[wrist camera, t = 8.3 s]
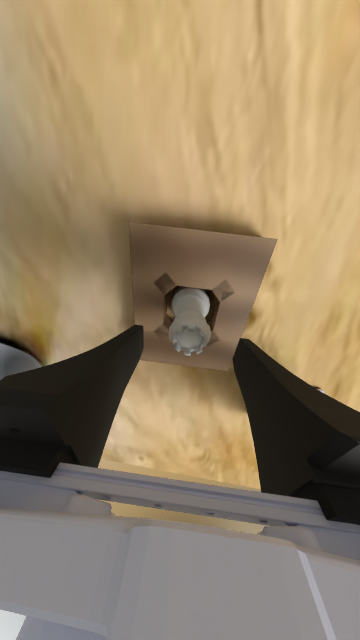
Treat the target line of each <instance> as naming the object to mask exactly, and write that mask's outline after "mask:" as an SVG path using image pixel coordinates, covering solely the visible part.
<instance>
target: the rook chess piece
mask: <svg viewBox="0 0 360 640" xmlns="http://www.w3.org/2000/svg"><path fill="white" fill-rule="evenodd" d="M171 308H172V311H173V313H174V315H175V316H176V317H175V319H174V321H173V322H172V324H171V326H170V327H169V338H170V340H171V342H172V343H173V344H174V349H175V350H176V351H177V352H179V351H180V350H183V351H184V355H188V356H191V352H192V351H195V352H196V354H199V353H201V352H202V348H203V347H206V346H207V343H208V342H209V341H210V337H211V330H210V326H209V325H208V324H207V323H206V319H205V317H206V315H207V314H208V312H209V308H210V299H209V294H208V293H207V292H206V290H205V289H201V288H192V287H184V286H181V287H179V288H178V289H177V290H176V291H175V292H174V294H173V296H172V302H171Z"/></svg>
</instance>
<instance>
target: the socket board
mask: <svg viewBox="0 0 360 640" xmlns="http://www.w3.org/2000/svg"><path fill="white" fill-rule="evenodd" d="M129 232H130V250H131V268H132V287H133V305H134V323H135V325H142V326H143V328H144V348H143V351H142V354H141V357H140V360H145V361H153V362H160V363H168V364H175V365H183V366H191V367H198V368H206V369H213V370H221V371H229V369H230V366H231V363H232V361H233V360H232V359H233V356H234V353H235V350H236V348H237V345H238V342H239V339H240V338H241V336H242V334H243V331H244V328H245V326H246V323H247V320H248V317H249V315H250V312H251V309H252V307H253V304H254V301H255V299H256V296H257V293H258V291H259V288H260V285H261V283H262V280H263V277H264V274H265V272H266V269H267V266H268V264H269V261H270V258H271V256H272V253H273V250H274V248H275V245H276V242H277V240H278V239H273V238H264V237H255V236H247V235H238V234H229V233H221V232H212V231H203V230H195V229H186V228H177V227H169V226H160V225H151V224H143V223H134V222H129ZM176 286H184V287H192V288H201V289H209V290H212V291H213V293H214V294H215V296H216V299H215V304H214V308H213V312H212V317H211V320H210V321H208V322H206V323H207V324H208V325H209V326H210V330H211V337H210V341H209V342H208V343H207V346H206V347H203V348H202V352H201V353H199V354H196V352H195V351H192V352H191V356H188V355H184V351H183V350H180V351H179V352H177V351H176V350H175V349H174V344H173V343H172V342H171V340H170V338H169V327H170V326H171V324H172V322H173V321H172V320H171V319H170V318H169V316H168V315H167V314H166V313H167V297H168V292H169V291H171V290H172V289H173V288H174V287H176Z"/></svg>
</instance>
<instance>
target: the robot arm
mask: <svg viewBox="0 0 360 640" xmlns="http://www.w3.org/2000/svg"><path fill="white" fill-rule="evenodd" d="M143 348H144V328H143V326H142V325H134V326H132V327H131V328H129V329H127V330H126V331H124V332H123V333H121V334H119V335H118V336H116V337H114V338H113V339H111V340H109V341H107V342H105V343H104V344H102V345H100V346H98V347H96V348H93V349H91V350H89V351H87V352H84V353H82V354H79V355H77V356H74V357H71V358H69V359H66V360H63V361H60V362H57V363H54V364H51V365H47V366H44V367H41V368H37V369H34V370H29V371H25V372H22V373H17V374H14V375H9V376H6V377H4V378H3V379H1V380H0V609H1V610H5V611H10V612H14V613H18V614H22V615H26V619H25V621H24V623H23V625H22V628H21V630H20V632H19V634H18V637H17V639H16V640H360V412H358V411H356V410H354V409H352V408H350V407H348V406H346V405H344V404H342V403H341V402H339V401H337V400H335V399H333V398H331V397H330V396H328V395H326V394H324V391H323V390H321V389H316V388H314V387H312V386H311V385H309V384H307V383H306V382H304V381H303V380H301V379H300V378H298V377H297V376H295V375H294V374H292V373H291V372H289V371H288V370H287V369H285V368H284V367H283V366H281V365H280V364H279V363H277V362H276V361H275V360H274V359H272V358H271V357H270V356H269V355H267V354H266V353H265V352H264V351H263V350H261V349H260V348H259V347H258V346H257V345H255V344H254V343H253V342H252V341H250V340H249V339H243V338H240V339H239V342H238V345H237V348H236V350H235V353H234V356H233V359H232V360H233V366H234V371H235V374H236V377H237V380H238V384H239V386H240V389H241V392H242V395H243V398H244V401H245V405H246V408H247V413H248V417H249V422H250V426H251V431H252V436H253V441H254V447H255V453H256V459H257V465H258V472H259V479H260V485H261V492H254V491H248V490H242V489H235V488H228V487H221V486H215V485H208V484H201V483H195V482H188V481H180V480H174V479H168V478H160V477H154V476H148V475H141V474H134V473H127V472H120V471H114V470H107V469H101V468H98V465H99V462H100V459H101V456H102V453H103V449H104V446H105V443H106V440H107V437H108V434H109V431H110V428H111V425H112V423H113V420H114V417H115V414H116V411H117V409H118V406H119V403H120V401H121V398H122V395H123V393H124V390H125V388H126V386H127V384H128V382H129V380H130V378H131V376H132V374H133V372H134V370H135V368H136V366H137V364H138V362H139V360H140V357H141V354H142V351H143ZM97 499H99V500H97ZM100 500H105V501H112V502H118V503H125V504H131V505H138V506H144V507H152V508H158V509H165V510H171V511H178V512H184V513H191V514H197V515H204V516H210V517H217V518H223V519H229V520H236V521H242V522H249V523H256V524H262V525H269V526H265V527H264V529H263V531H261V532H260V533H258V534H250V533H245V532H240V531H235V530H229V529H224V528H218V527H212V526H206V525H199V524H193V523H185V522H177V521H169V520H159V519H149V518H137V517H123V516H116V515H114V514H113V513H112V512H111V508H112V507H111V504H110V503H107V502H104V501H100Z"/></svg>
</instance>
